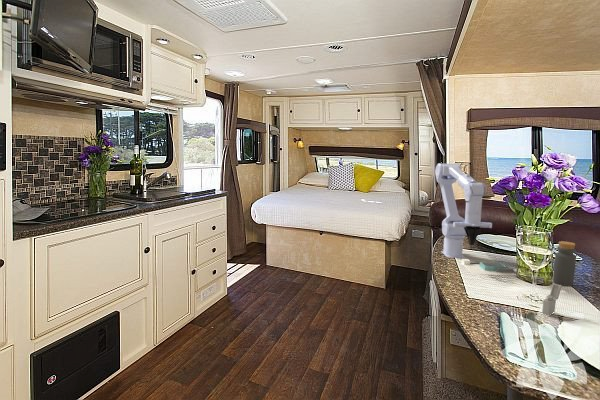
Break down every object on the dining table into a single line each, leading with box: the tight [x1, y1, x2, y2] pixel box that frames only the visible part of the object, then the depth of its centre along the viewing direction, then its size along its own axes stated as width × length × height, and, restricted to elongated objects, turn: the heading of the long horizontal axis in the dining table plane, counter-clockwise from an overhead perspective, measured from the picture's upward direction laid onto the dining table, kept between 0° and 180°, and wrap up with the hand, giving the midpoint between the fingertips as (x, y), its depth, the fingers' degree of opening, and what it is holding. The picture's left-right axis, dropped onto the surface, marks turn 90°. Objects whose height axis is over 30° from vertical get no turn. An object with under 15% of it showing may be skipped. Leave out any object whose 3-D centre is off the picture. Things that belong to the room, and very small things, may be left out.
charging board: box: [459, 258, 518, 276], centre depth 133 cm, size 16×14×2 cm
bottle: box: [552, 240, 577, 287], centre depth 118 cm, size 6×6×15 cm
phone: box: [479, 261, 506, 271], centre depth 133 cm, size 8×5×2 cm, turn 83°
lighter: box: [541, 283, 562, 316], centre depth 97 cm, size 7×2×8 cm, turn 122°
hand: (471, 244), depth 136 cm, fingers closed
